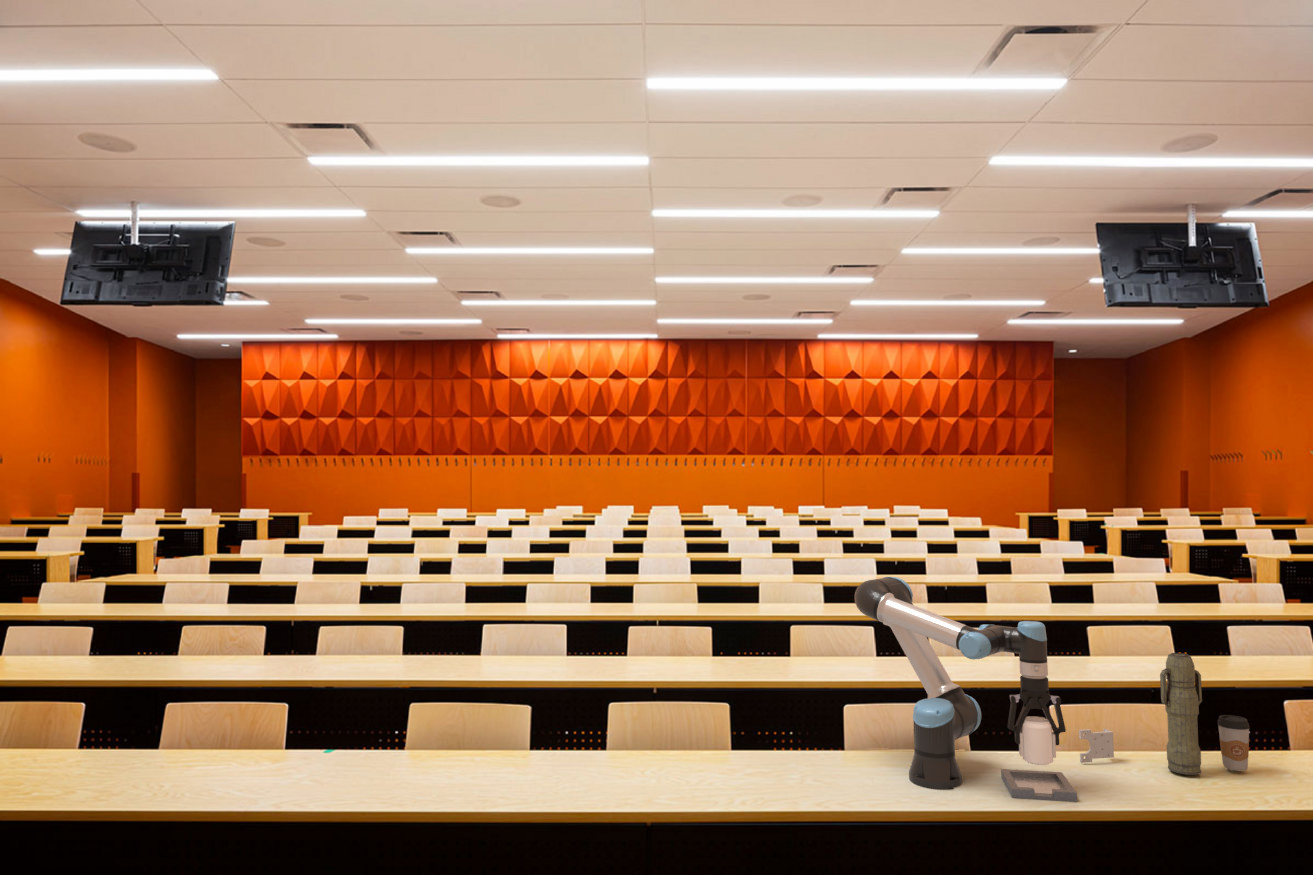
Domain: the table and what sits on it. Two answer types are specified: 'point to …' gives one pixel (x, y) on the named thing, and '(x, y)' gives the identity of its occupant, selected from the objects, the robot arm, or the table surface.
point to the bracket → (1097, 745)
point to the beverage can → (1037, 740)
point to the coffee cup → (1234, 741)
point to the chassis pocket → (1038, 785)
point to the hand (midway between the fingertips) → (1037, 755)
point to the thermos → (1182, 713)
